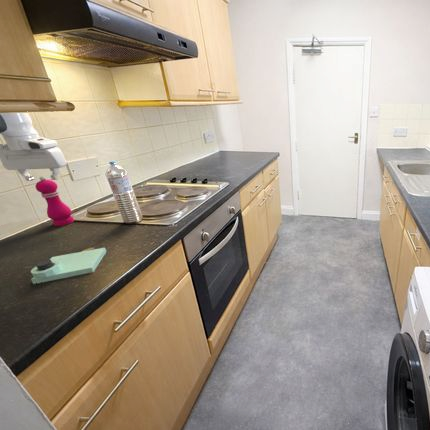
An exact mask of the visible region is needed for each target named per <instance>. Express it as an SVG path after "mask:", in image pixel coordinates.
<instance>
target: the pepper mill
mask: <svg viewBox="0 0 430 430" xmlns="http://www.w3.org/2000/svg"><path fill="white" fill-rule="evenodd" d="M35 189H36V192H39V193H40V195H41V197H42V198H43V199H44V200H45V201H46V205H47V208H46V215H47V217H48V219H50V220H52V225H54V226H55V227H63V226H67V225H70V224H72V223H74V221H75V219H74V216H72V213H73V210H72V209H71V208H70V207H69V206H68V205H67V204H65V203H64V202H63V201H62V200H61V197H60V196H59V195H60V192H59V190H58V184H57V182H55V180H52V179H47V177H45V176H43V175H42V176H40V177H39V181H37V182H36V184H35Z"/></svg>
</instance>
